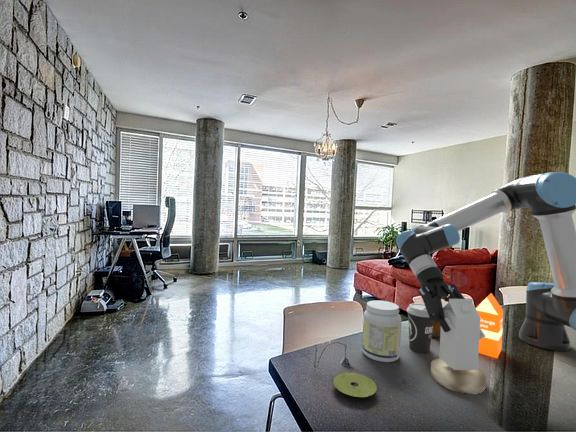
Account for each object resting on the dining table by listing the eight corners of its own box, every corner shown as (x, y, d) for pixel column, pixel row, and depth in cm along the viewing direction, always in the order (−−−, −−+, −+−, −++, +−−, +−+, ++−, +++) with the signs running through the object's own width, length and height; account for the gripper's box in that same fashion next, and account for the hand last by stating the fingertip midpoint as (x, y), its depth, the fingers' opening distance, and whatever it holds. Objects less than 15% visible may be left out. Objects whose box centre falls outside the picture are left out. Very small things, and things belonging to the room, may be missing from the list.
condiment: (429, 330, 126) (430, 301, 126) (451, 337, 119) (452, 306, 119) (420, 334, 121) (422, 304, 121) (442, 341, 115) (444, 310, 114)
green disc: (385, 400, 77) (385, 393, 77) (345, 407, 74) (345, 399, 74) (362, 377, 88) (362, 370, 88) (326, 381, 85) (326, 374, 85)
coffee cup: (421, 357, 101) (423, 312, 101) (399, 345, 110) (400, 304, 110) (440, 352, 106) (442, 309, 106) (417, 341, 114) (419, 301, 114)
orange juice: (501, 350, 109) (504, 294, 109) (497, 358, 103) (500, 299, 102) (476, 343, 114) (479, 290, 114) (471, 350, 108) (473, 294, 108)
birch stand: (480, 374, 92) (481, 364, 92) (491, 399, 79) (491, 388, 79) (429, 363, 97) (430, 354, 97) (431, 386, 85) (431, 375, 85)
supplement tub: (369, 343, 111) (371, 297, 111) (404, 353, 104) (406, 304, 104) (356, 355, 101) (358, 305, 101) (393, 367, 94) (396, 313, 94)
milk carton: (439, 358, 92) (441, 295, 91) (461, 358, 92) (464, 295, 92) (453, 370, 84) (457, 302, 84) (478, 370, 85) (481, 302, 85)
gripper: (443, 276, 106) (486, 341, 92) (394, 280, 98) (432, 351, 84) (458, 264, 101) (505, 330, 87) (407, 266, 93) (450, 339, 79)
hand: (469, 340), depth 85 cm, fingers closed on milk carton, 9 cm apart
